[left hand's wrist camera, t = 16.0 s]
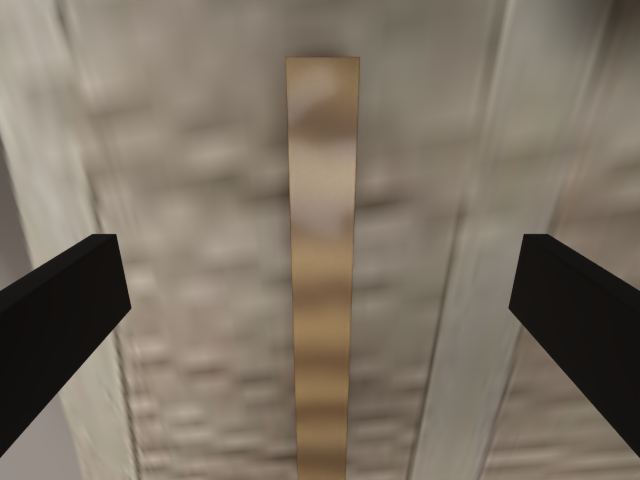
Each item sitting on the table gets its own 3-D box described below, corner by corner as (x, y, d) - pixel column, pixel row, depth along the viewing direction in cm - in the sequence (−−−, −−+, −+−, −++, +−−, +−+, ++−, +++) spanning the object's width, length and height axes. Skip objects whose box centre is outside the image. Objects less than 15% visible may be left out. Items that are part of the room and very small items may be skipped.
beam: (293, 65, 36) (285, 56, 28) (350, 65, 36) (359, 57, 28) (302, 471, 56) (299, 536, 47) (339, 471, 56) (343, 536, 47)
